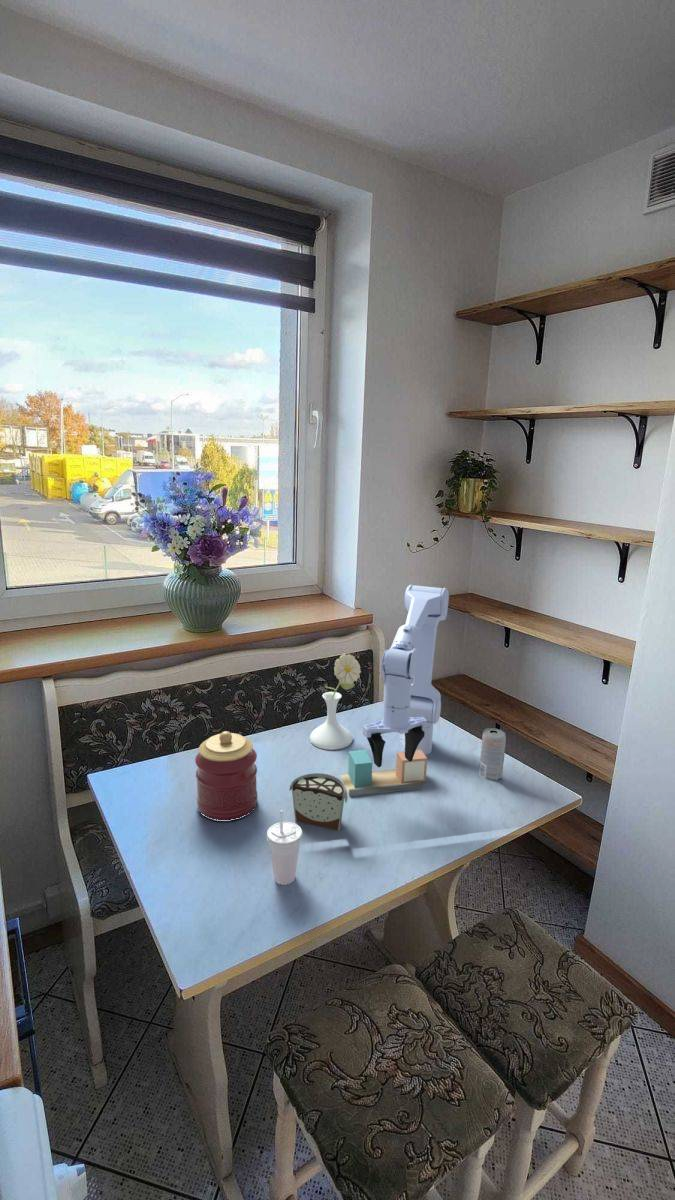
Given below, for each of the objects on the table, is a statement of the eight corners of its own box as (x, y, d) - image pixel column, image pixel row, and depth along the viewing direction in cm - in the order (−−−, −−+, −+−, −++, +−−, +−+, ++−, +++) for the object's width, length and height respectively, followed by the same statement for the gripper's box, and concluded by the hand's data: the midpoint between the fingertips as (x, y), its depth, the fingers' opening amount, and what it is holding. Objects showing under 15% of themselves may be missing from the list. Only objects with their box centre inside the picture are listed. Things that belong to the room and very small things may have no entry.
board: (339, 779, 143) (340, 769, 143) (408, 772, 147) (408, 762, 146) (349, 800, 135) (349, 790, 134) (421, 792, 139) (421, 782, 138)
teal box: (354, 787, 138) (355, 764, 136) (348, 774, 143) (348, 751, 142) (371, 786, 139) (372, 762, 137) (364, 772, 144) (365, 749, 143)
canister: (185, 805, 132) (181, 731, 127) (233, 782, 141) (231, 713, 137) (221, 831, 123) (218, 753, 119) (269, 805, 133) (269, 732, 128)
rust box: (395, 774, 143) (396, 752, 142) (419, 772, 145) (421, 749, 143) (401, 784, 140) (402, 760, 138) (425, 781, 141) (427, 758, 139)
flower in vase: (314, 756, 153) (315, 664, 147) (305, 735, 164) (306, 648, 158) (363, 751, 156) (366, 660, 150) (352, 731, 167) (354, 645, 161)
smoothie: (267, 866, 113) (266, 800, 110) (301, 865, 114) (302, 799, 110) (266, 891, 107) (265, 822, 104) (302, 889, 108) (303, 821, 104)
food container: (354, 820, 128) (355, 778, 125) (345, 837, 122) (346, 793, 120) (300, 808, 132) (300, 767, 129) (289, 824, 126) (289, 781, 124)
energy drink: (499, 773, 147) (504, 728, 144) (503, 785, 142) (508, 739, 139) (477, 772, 148) (481, 727, 145) (480, 783, 143) (484, 737, 140)
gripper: (374, 715, 122) (371, 776, 125) (435, 706, 128) (431, 765, 131) (359, 702, 129) (357, 761, 132) (418, 694, 134) (414, 750, 137)
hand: (393, 762), depth 132 cm, fingers open, 7 cm apart
